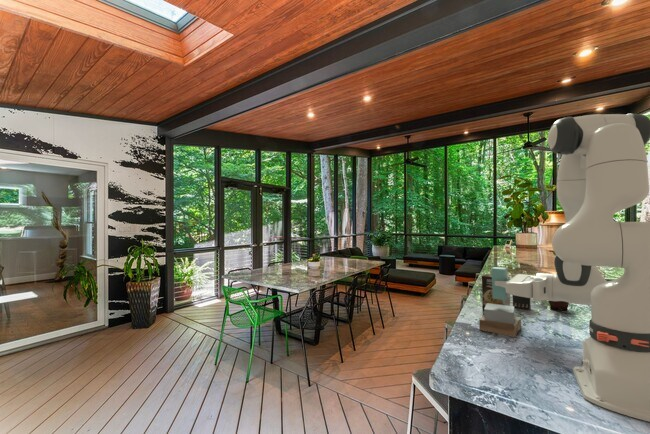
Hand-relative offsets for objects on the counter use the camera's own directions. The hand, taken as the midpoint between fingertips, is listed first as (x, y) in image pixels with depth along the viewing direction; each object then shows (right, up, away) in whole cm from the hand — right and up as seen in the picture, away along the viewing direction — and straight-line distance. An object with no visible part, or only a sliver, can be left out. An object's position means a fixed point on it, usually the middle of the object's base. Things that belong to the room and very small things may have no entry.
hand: (496, 281), depth 110 cm
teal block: (+1, -6, -1) cm, 6 cm away
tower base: (0, -17, -1) cm, 17 cm away
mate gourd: (+38, -17, +19) cm, 46 cm away
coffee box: (+8, -17, +15) cm, 24 cm away
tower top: (0, -13, -1) cm, 13 cm away
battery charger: (+24, -17, +22) cm, 36 cm away
